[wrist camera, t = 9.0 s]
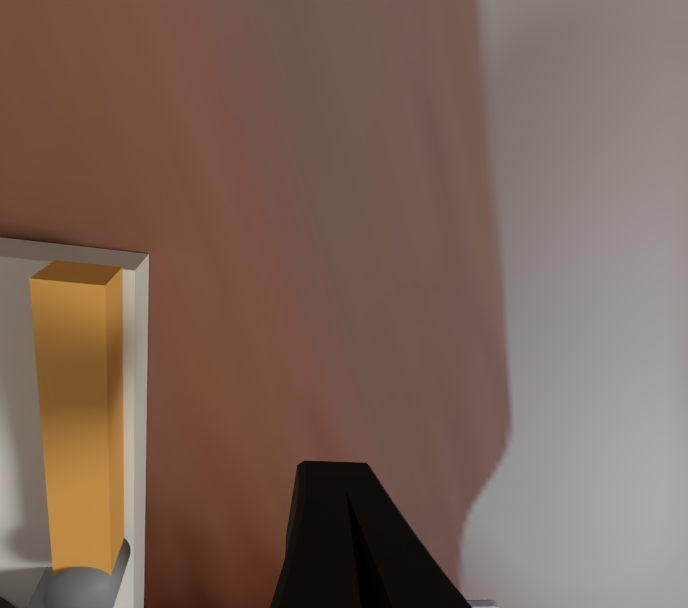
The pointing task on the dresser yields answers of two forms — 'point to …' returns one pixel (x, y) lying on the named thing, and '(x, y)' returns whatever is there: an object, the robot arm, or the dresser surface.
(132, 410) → the white tray
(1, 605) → the plug
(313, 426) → the dresser surface
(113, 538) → the orange-brown long box
